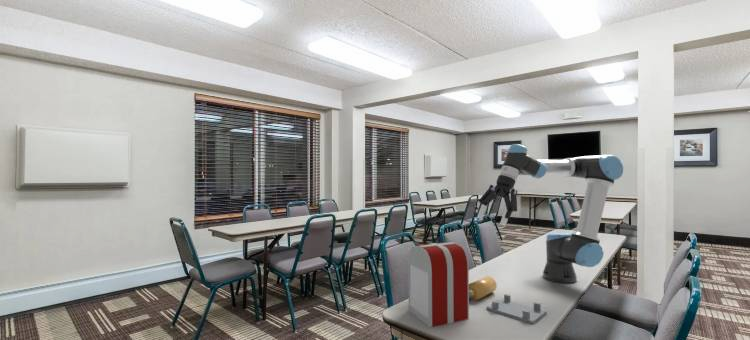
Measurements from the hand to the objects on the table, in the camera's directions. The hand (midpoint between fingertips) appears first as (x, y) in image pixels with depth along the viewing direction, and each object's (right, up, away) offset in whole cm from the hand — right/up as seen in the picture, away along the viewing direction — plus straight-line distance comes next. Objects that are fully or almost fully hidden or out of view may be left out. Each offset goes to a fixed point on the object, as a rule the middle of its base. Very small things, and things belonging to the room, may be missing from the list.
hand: (490, 221), depth 147 cm
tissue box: (-26, -33, -18) cm, 46 cm away
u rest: (+5, -33, -16) cm, 37 cm away
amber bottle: (-5, -33, 0) cm, 34 cm away
